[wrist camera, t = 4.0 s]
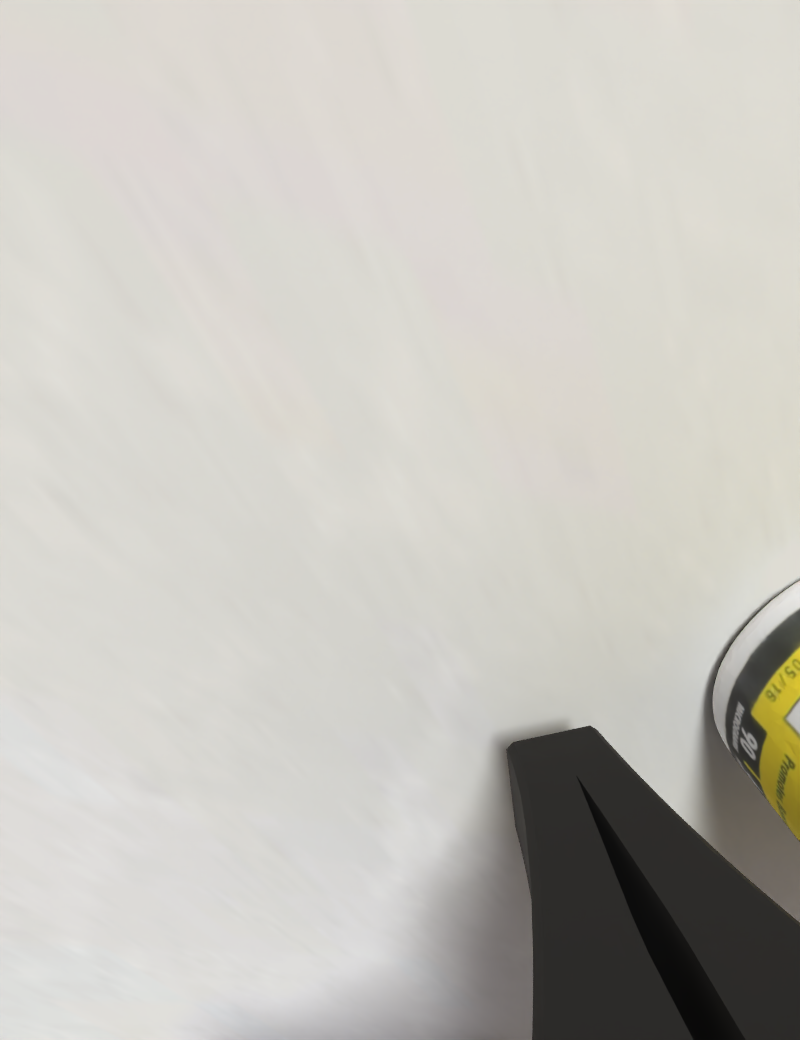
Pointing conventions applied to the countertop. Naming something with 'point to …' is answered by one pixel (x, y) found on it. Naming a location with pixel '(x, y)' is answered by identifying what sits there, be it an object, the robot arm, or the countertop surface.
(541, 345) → the countertop surface
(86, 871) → the countertop surface
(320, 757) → the countertop surface
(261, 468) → the countertop surface
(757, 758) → the supplement bottle
